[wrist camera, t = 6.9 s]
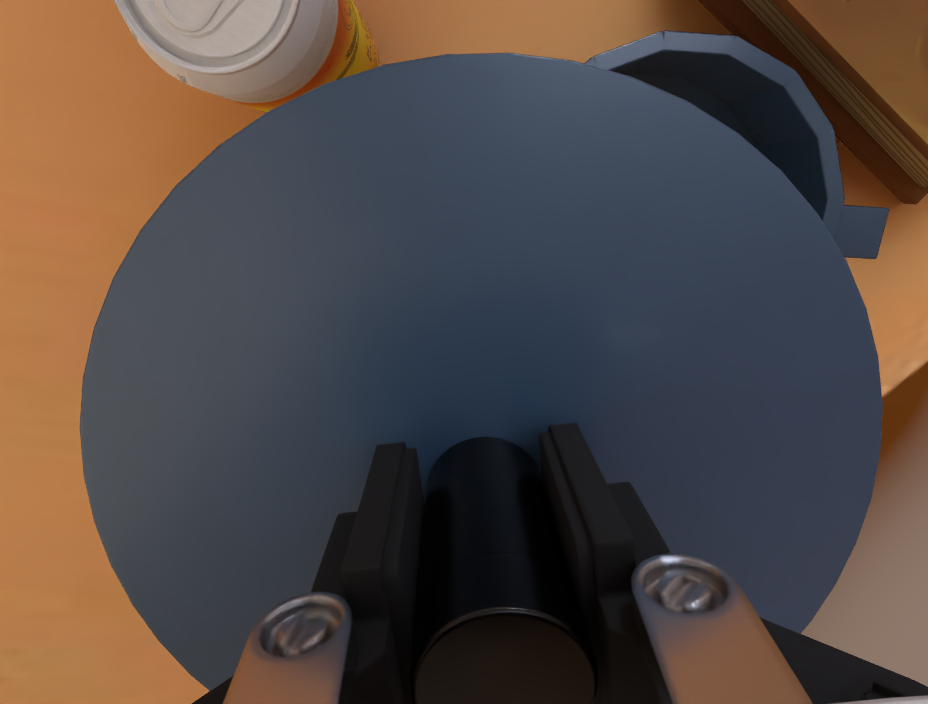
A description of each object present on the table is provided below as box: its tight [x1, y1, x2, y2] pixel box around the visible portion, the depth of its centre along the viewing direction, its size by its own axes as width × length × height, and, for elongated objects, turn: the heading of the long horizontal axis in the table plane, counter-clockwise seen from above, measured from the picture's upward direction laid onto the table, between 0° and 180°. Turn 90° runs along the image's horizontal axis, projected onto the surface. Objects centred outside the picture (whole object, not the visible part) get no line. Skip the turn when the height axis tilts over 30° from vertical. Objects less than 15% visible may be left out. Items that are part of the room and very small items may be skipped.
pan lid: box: [80, 53, 883, 704], centre depth 10 cm, size 16×16×6 cm
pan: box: [584, 31, 889, 259], centre depth 30 cm, size 16×21×6 cm
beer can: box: [114, 0, 379, 113], centre depth 23 cm, size 6×6×15 cm
